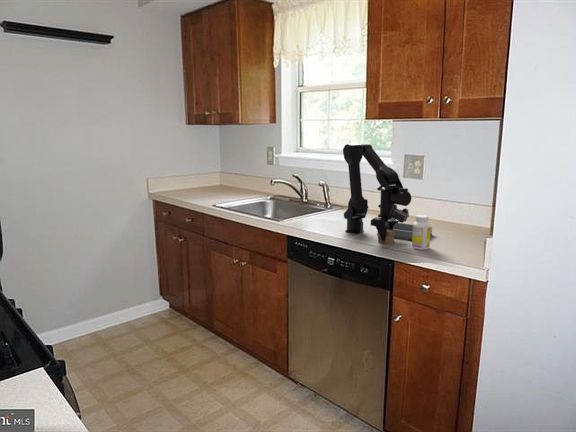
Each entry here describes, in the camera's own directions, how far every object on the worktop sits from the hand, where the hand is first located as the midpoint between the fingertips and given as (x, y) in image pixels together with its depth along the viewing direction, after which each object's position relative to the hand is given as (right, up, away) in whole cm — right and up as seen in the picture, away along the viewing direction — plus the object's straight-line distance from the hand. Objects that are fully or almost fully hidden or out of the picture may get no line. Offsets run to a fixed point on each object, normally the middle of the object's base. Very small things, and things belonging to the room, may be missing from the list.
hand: (386, 239), depth 180 cm
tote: (+11, +1, +11) cm, 15 cm away
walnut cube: (0, -1, 0) cm, 1 cm away
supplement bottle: (+11, -3, -9) cm, 15 cm away
